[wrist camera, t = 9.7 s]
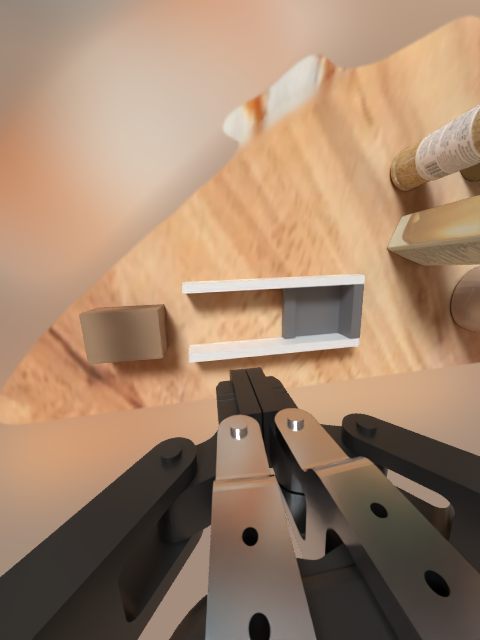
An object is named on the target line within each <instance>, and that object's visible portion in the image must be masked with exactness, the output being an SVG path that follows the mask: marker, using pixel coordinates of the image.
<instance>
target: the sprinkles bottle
mask: <svg viewBox="0 0 480 640" xmlns="http://www.w3.org/2000/svg"><path fill="white" fill-rule="evenodd" d="M478 163H480V105H478V106H476V107H475V108H473V109H471V110H470V111H468V112H466V113H465V114H463V115H461V116H459V117H458V118H456V119H454V120H453V121H451V122H449V123H448V124H446V125H444V126H443V127H441V128H439V129H438V130H436V131H434V132H433V133H431V134H430V135H428V136H427V137H426V138H424V139H422V140H421V141H419V142H417V143H416V144H414V145H412V146H411V147H408V148H406V149H404V150H402V151H400V152H399V153H398V154H397V156H396V157H395V159H394V161H393V163H392V166H391V178H392V181H393V183H394V185H395V186H396V187H397V188H398V189H401V190H404V191H407V190H412V189H414V188H416V187H417V186H419V185H422V184H424V183H427V182H429V181H432V180H437V179H439V178H442V177H444V176H447V175H450V174H452V173H455V172H457V171H460V170H463V169H465V168H468V167H470V166H473V165H475V164H478Z"/></svg>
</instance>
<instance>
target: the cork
mask: <svg viewBox="0 0 480 640" xmlns="http://www.w3.org/2000/svg"><path fill="white" fill-rule="evenodd" d="M460 172H461V174H462V175H463V176H464V178H465V179H467V180H469V181H480V163H478V164H475V165H473V166H470V167H468V168H465V169H463V170H460Z"/></svg>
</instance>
